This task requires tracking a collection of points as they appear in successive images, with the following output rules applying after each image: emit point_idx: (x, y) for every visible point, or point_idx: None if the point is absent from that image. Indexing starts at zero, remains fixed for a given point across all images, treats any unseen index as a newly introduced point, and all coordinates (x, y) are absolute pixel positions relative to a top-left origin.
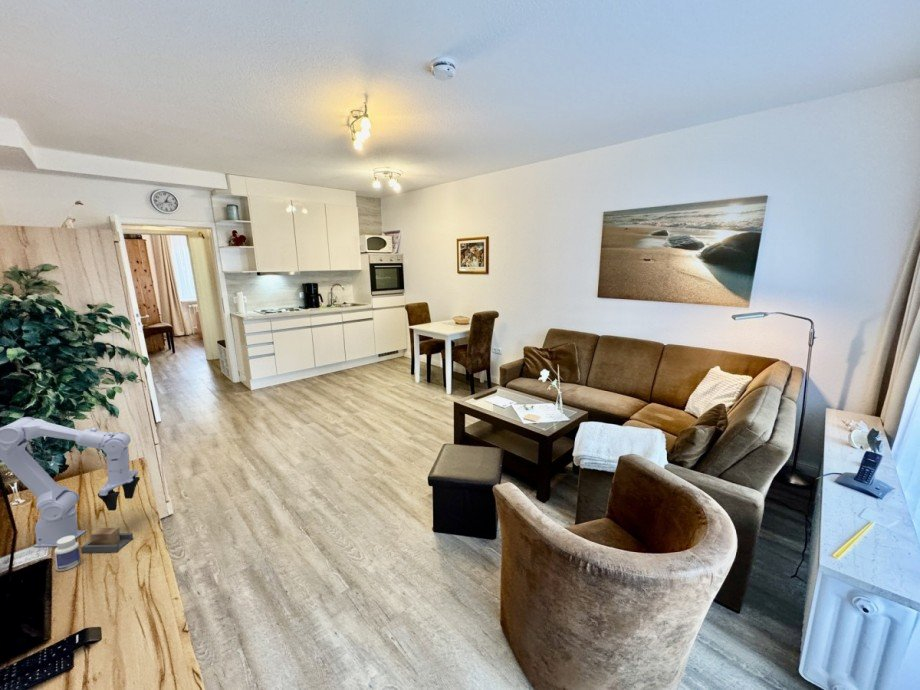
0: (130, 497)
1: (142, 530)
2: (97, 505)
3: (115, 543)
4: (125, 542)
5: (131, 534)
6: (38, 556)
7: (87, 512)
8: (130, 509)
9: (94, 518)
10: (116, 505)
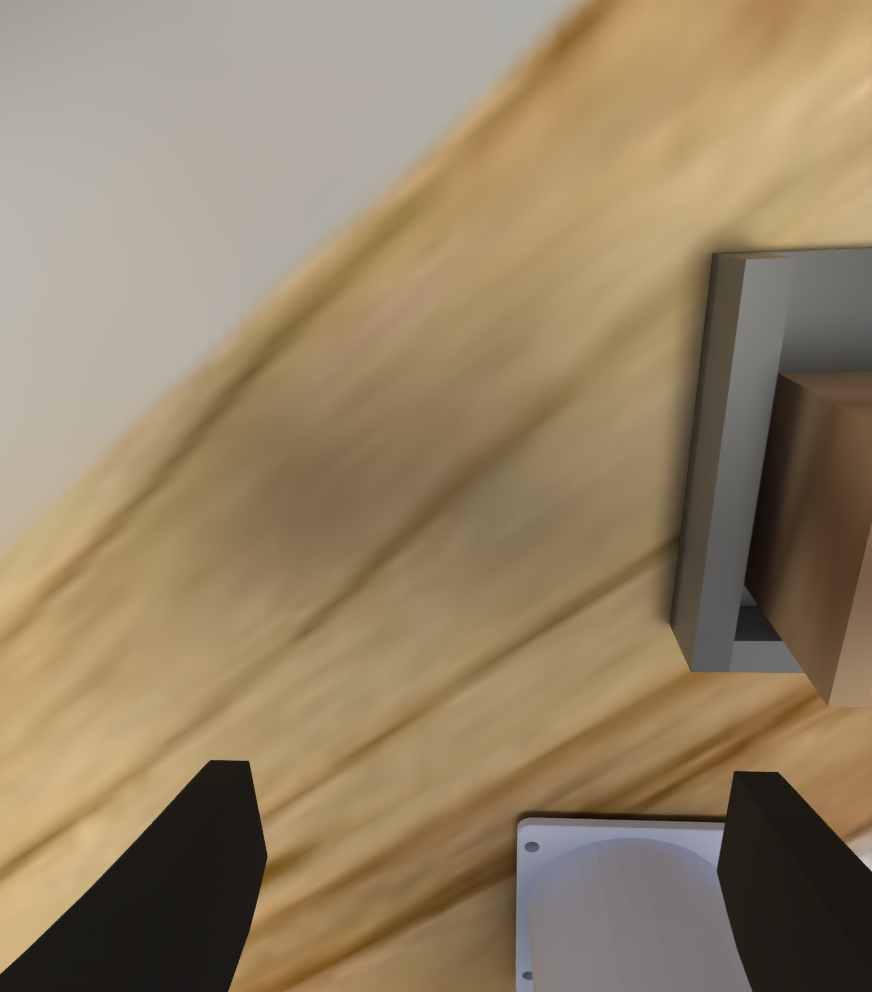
0: (242, 798)
1: (510, 266)
2: None
3: (867, 374)
4: (835, 269)
5: (765, 257)
6: None
7: None
8: (107, 700)
9: (303, 876)
10: (795, 850)
